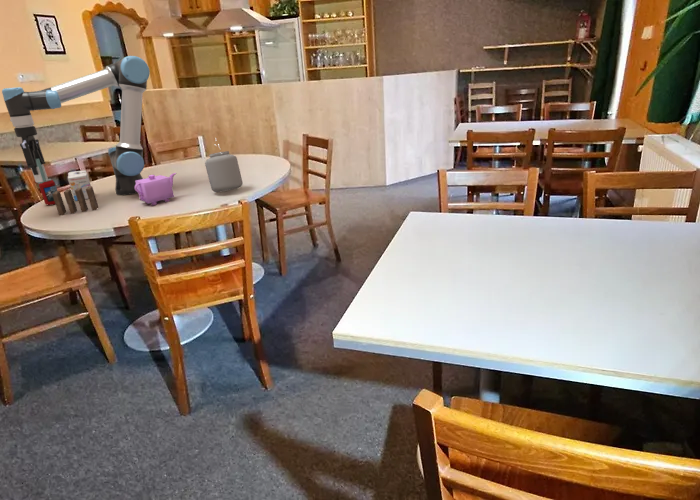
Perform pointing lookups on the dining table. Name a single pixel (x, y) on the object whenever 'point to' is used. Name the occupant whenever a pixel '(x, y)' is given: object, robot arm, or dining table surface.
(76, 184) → the ink box
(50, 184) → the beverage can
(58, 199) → the domino
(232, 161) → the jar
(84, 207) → the domino
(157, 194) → the teapot
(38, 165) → the domino
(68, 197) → the domino
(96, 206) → the domino
